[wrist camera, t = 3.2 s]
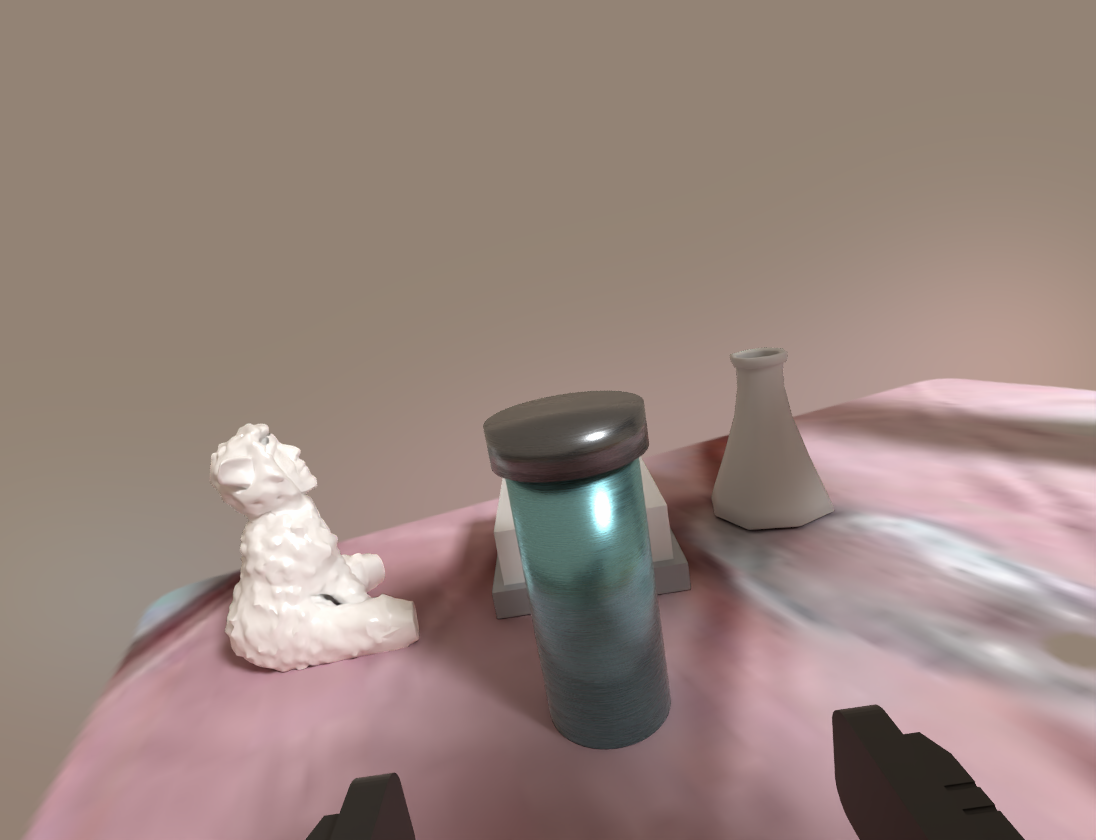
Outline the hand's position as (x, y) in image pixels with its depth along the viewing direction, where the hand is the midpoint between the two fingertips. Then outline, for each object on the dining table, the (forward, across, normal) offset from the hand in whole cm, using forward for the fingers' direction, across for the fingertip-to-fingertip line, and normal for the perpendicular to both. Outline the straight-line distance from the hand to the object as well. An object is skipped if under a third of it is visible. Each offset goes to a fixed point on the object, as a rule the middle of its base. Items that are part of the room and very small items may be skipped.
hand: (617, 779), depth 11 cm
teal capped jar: (+11, 0, +8) cm, 14 cm away
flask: (+26, -12, +8) cm, 30 cm away
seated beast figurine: (+19, +14, +8) cm, 25 cm away
